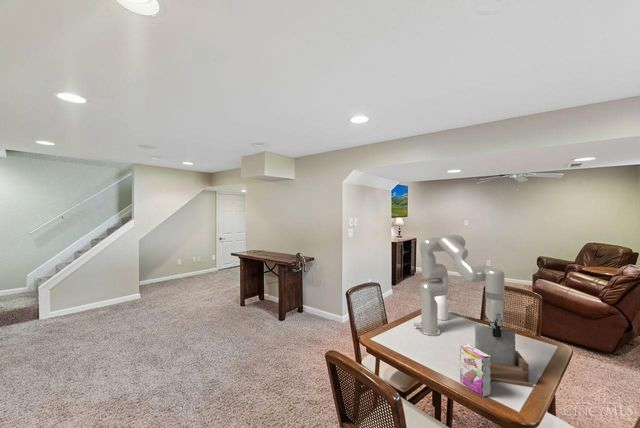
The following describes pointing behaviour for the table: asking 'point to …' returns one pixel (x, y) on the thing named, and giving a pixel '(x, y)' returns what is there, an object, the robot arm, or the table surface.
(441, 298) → the white tall cylinder
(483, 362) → the candy bar box
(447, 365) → the table surface
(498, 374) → the brown rectangular open tray
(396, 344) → the table surface
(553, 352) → the table surface
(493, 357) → the hip flask
